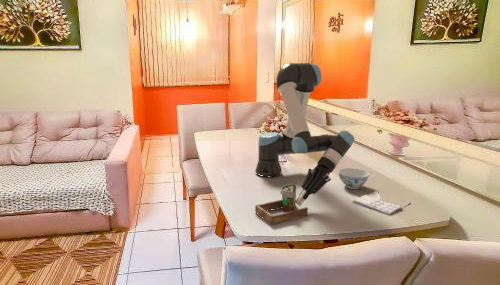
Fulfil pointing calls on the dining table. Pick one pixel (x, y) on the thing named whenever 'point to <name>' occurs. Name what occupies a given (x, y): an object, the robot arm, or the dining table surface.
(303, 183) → the robot arm
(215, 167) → the dining table surface
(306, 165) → the dining table surface
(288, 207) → the food container
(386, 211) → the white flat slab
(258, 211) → the caddy
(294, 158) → the dining table surface
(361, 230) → the dining table surface
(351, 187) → the chinaware
